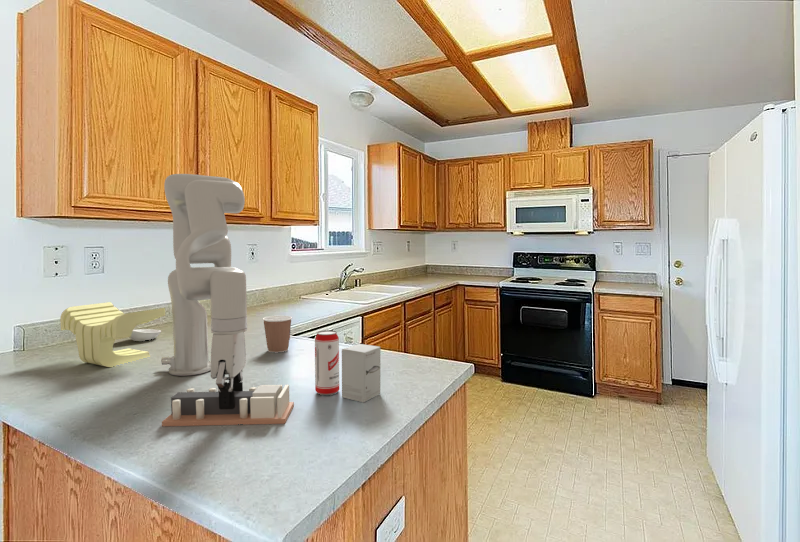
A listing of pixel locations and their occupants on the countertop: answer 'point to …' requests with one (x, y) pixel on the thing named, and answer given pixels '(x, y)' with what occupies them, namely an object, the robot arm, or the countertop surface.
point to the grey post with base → (213, 400)
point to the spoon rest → (144, 334)
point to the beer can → (327, 362)
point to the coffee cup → (277, 333)
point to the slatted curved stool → (105, 331)
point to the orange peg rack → (259, 414)
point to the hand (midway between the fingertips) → (231, 403)
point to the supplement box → (360, 372)
